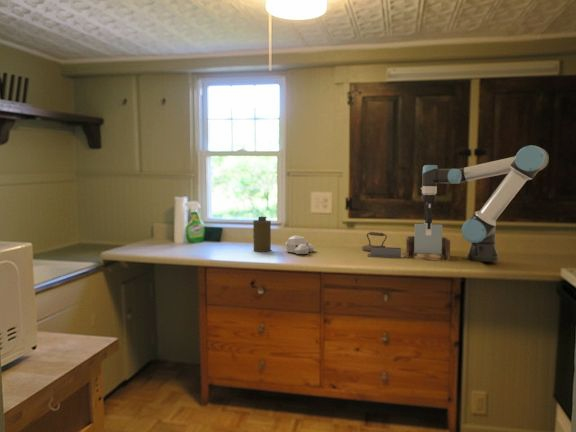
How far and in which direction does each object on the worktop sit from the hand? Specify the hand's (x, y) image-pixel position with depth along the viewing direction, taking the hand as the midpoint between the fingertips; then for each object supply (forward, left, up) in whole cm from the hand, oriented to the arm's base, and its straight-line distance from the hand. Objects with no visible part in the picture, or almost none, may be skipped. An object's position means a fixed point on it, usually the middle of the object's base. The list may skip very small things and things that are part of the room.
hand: (427, 233), depth 248 cm
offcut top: (0, +6, -12) cm, 13 cm away
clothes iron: (+32, -16, -14) cm, 39 cm away
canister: (+94, -5, -13) cm, 95 cm away
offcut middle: (0, +5, -13) cm, 14 cm away
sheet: (0, 0, -13) cm, 13 cm away
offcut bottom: (0, +5, -14) cm, 15 cm away
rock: (+71, -4, -13) cm, 73 cm away
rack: (0, 0, -13) cm, 13 cm away
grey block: (+22, 0, -13) cm, 25 cm away
